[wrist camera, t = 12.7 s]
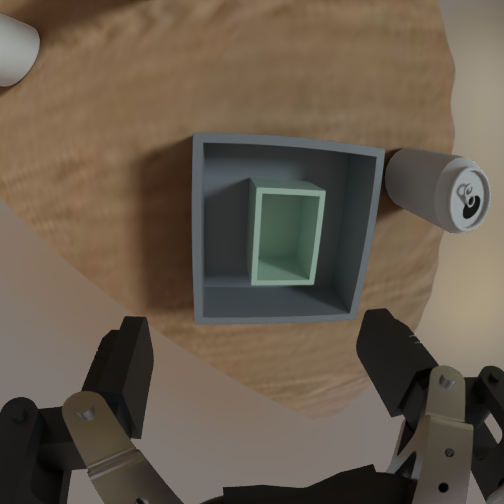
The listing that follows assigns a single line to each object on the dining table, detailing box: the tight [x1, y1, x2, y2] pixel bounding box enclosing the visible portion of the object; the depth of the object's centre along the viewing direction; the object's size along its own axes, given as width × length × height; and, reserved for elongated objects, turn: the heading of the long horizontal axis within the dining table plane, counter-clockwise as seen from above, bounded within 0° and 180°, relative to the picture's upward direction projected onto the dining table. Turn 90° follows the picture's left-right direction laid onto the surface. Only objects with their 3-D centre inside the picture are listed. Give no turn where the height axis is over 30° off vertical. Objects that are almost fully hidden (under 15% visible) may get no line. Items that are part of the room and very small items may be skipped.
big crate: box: [192, 133, 385, 324], centre depth 30 cm, size 18×17×7 cm
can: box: [385, 147, 491, 233], centre depth 27 cm, size 8×8×12 cm
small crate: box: [246, 177, 326, 285], centre depth 30 cm, size 9×6×6 cm, turn 177°
